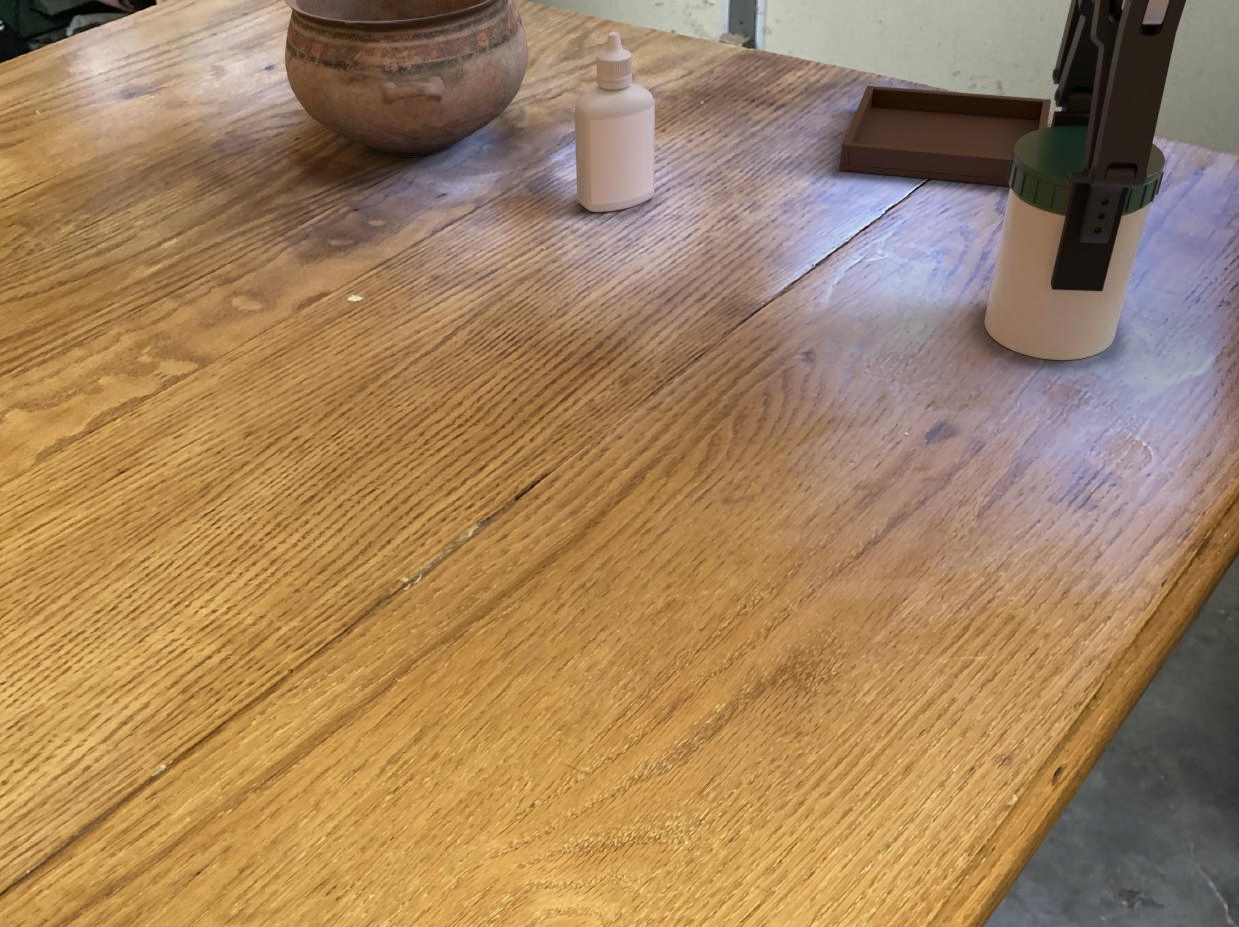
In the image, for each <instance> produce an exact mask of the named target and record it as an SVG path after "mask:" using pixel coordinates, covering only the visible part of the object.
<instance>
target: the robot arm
mask: <svg viewBox="0 0 1239 927" xmlns="http://www.w3.org/2000/svg"><path fill="white" fill-rule="evenodd" d="M1186 2H1187V0H1070V5H1069V7H1068V8H1069V9H1068V11H1067V12H1068V13H1067V17H1066V21H1065V25H1064V29H1063V33H1062V37H1061V42H1060V44H1059V45H1060V46H1059V50H1058V53H1057V58H1056V64H1055V67H1054V69H1053V70H1052V75H1051V78H1052V82H1053V85H1057V88H1056V90H1055V92H1054V97H1053V100H1054V101H1055V104H1054V105H1055V107H1056V108H1061V110H1054V111H1053V115H1052V120H1051V125H1050V127H1054V126H1066V125H1085V126H1088V133H1087V140H1086V147H1085V155H1084V162H1083V167H1082V168H1081V172H1069V171H1067V183H1072V184H1073V186H1072V190H1071V195H1070V199H1069V204H1068V208H1067V212H1066V217H1065V221H1064V226H1063V230H1062V235H1061V239H1060V243H1059V248H1058V252H1057V257H1056V261H1055V266H1054V270H1053V274H1052V279H1051V287H1052V290H1076V291H1103V287H1104V284H1105V280H1106V276H1107V272H1108V268H1109V264H1110V260H1111V256H1112V252H1113V248H1114V244H1115V241H1116V237H1117V233H1118V229H1119V225H1120V221H1121V217H1122V213H1123V209H1124V205H1125V201H1126V197H1127V194H1128V190H1129V187H1137V188H1141V187H1142V186H1143V185H1144V181H1145V180H1146V177H1147V167H1148V162H1149V158H1150V153H1151V148H1152V144H1154V138H1155V134H1156V130H1157V128H1156V127H1157V124H1158V119H1159V115H1160V110H1161V106H1162V100H1163V97H1164V92H1165V87H1166V82H1167V78H1168V73H1169V68H1170V64H1171V59H1172V55H1173V49H1174V45H1175V39H1176V35H1177V32H1178V29H1179V26H1180V21H1181V20H1182V16H1183V12H1184V9H1185V6H1186Z"/></svg>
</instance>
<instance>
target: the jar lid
mask: <svg viewBox="0 0 1239 927" xmlns="http://www.w3.org/2000/svg"><path fill="white" fill-rule="evenodd" d="M1087 133H1088V126H1085V125H1066V126H1054V127H1051V126H1049V127H1048V126H1047V128H1043V129H1039V130H1036V131H1033V132H1030V133H1028V134H1026V135H1024V136H1022V137H1021V138H1020V139H1019V140H1018V141H1017V142H1016V144H1015V146H1014V150H1013V151H1012V156H1011V161H1010V166H1009V171H1008V177H1007V181H1008V182H1009V185H1010V186H1009V189H1010V188H1011V189H1012V190H1013V191H1014V192H1015V193H1016V194H1017V195H1018V196H1019V197H1021V198H1022V199H1024V200H1026V201H1028V202H1030V203H1031V204H1034V205H1036V206H1039V207H1042V208H1045V209H1048V210H1052V211H1056V212H1061V213H1066V212H1067V208H1068V204H1069V199H1070V195H1071V190H1072V186H1073V184H1072V183H1067V171H1069V172H1081V168H1082V167H1083V162H1084V155H1085V147H1086V140H1087ZM1165 164H1166V158H1165V154H1164V152H1163V151H1162V150H1161V149H1160V147H1158V146H1157V145H1156V144H1155V143H1153V144H1152V148H1151V153H1150V158H1149V162H1148V167H1147V177H1146V180H1145V181H1144V185H1143V186H1142V187H1141V188H1137V187H1129V190H1128V194H1127V197H1126V201H1125V205H1124V209H1123V213H1122V214H1125V213H1129V212H1133V211H1136V210H1139V209H1141V208H1143V207H1145V206H1147V205H1148V204H1150V205H1151V203H1153V202H1154V200H1155V198H1156V196H1157V195H1159V192H1160V190H1161V185H1162V181H1163V177H1164V174H1165V172H1164V168H1165Z"/></svg>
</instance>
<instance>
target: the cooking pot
mask: <svg viewBox="0 0 1239 927" xmlns="http://www.w3.org/2000/svg"><path fill="white" fill-rule="evenodd" d="M283 1H284V3H285V4H286V5H287V6H288V7H289V8H290V9H291V13H290V18H289V22H288V27H287V32H286V40H285V48H284V49H285V51H284V65H285V66H284V67H285V70H286V71H285V72H286V75H287V80H288V83H289V87H290V88H291V90H292V92H293V94H294V96H295V98H296V99H297V101H298V102H299V104H300V105H301V107H302V108H303V109H304V110H305V111H306V113H307V114H308V115H309V116H310V117H311V118H312V119H313V120H314V121H315V122H316V123H317V124H319V125H321V126H322V127H324V128H325V129H326V130H328V131H329V132H331V133H333V134H335V135H337V136H339V137H341V138H344V139H346V140H348V141H352V142H354V143H357V144H359V145H362V146H364V147H368V148H370V149H374V150H377V151H379V152H380V153H382V154H386V155H388V156H392V157H396V158H421V157H429V156H433V155H437V154H440V153H442V152H445V151H447V150H449V149H451V148H452V147H454V146H455V145H456V144H457V143H459V142H461V141H463V140H464V139H467V137H470V136H471V135H473V134H475V133H476V132H478V131H479V130H481V129H482V128H484V127H486V126H487V125H489V124H490V123H492V122H493V121H494V120H496V119H497V118H498V117H499V116H500V115H502V113H503V112H504V111H505V110H506V109H507V108H508V107H509V105H510V104H511V103H512V102H513V100H514V99H515V98H516V96H517V95H518V93H519V91H520V89H521V86H522V83H523V81H524V78H525V75H526V71H527V69H528V64H529V45H528V38H527V34H526V30H525V27H524V24H523V20H522V18H521V15H520V12H519V8H518V7H517V4H516V3H515V0H283Z"/></svg>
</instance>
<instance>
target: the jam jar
mask: <svg viewBox="0 0 1239 927" xmlns="http://www.w3.org/2000/svg"><path fill="white" fill-rule="evenodd" d="M1005 205H1006V206H1005V211H1004V217H1003V222H1002V226H1001V232H1000V236H999V243H998V246H997V253H996V259H995V264H994V269H993V273H992V280H991V284H990V289H989V295H988V300H987V304H986V310H985V315H984V327H985V330H986V332H987V333H988V335H989V336H990V337H991V338H992V339H993V340H994V341H995V342H997V343H998V344H1000V345H1001V346H1002V347H1004V348H1006V349H1009V350H1011V351H1012V352H1015V353H1018V354H1021V355H1025V356H1028V357H1031V358H1032V357H1033V358H1037V359H1042V360H1051V361H1052V360H1053V361H1073V360H1080V359H1085V358H1090V357H1093V356H1096V355H1098V354H1101V353H1103V352H1104V351H1105V350H1107V349H1108V348H1109V347H1110V346H1111V345H1112V344H1113V342H1114V340H1115V337H1116V334H1117V329H1118V326H1119V322H1120V318H1121V314H1122V311H1123V307H1124V303H1125V299H1126V296H1127V293H1128V292H1127V291H1128V288H1129V285H1130V281H1131V277H1132V273H1133V270H1134V265H1135V261H1136V258H1137V255H1138V251H1139V246H1140V243H1141V240H1142V236H1143V231H1144V229H1145V224H1146V221H1147V217H1148V213H1149V210H1150V206H1151V203H1150V204H1148V205H1147V206H1145V207H1143V208H1141V209H1139V210H1136V211H1133V212H1129V213H1125V214H1122V217H1121V221H1120V225H1119V229H1118V233H1117V237H1116V241H1115V244H1114V248H1113V252H1112V256H1111V260H1110V264H1109V268H1108V272H1107V276H1106V280H1105V284H1104V287H1103V291H1076V290H1052V287H1051V279H1052V274H1053V270H1054V266H1055V261H1056V257H1057V252H1058V248H1059V243H1060V239H1061V235H1062V230H1063V226H1064V221H1065V217H1066V213H1061V212H1056V211H1052V210H1048V209H1045V208H1042V207H1039V206H1036V205H1034V204H1031V203H1030V202H1028V201H1026V200H1024V199H1022V198H1021V197H1019V196H1018V195H1017V194H1016V193H1015V192H1014V191H1013V190H1012V189H1011V188H1010V187H1009V191H1008V195H1007V201H1006V204H1005Z"/></svg>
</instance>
